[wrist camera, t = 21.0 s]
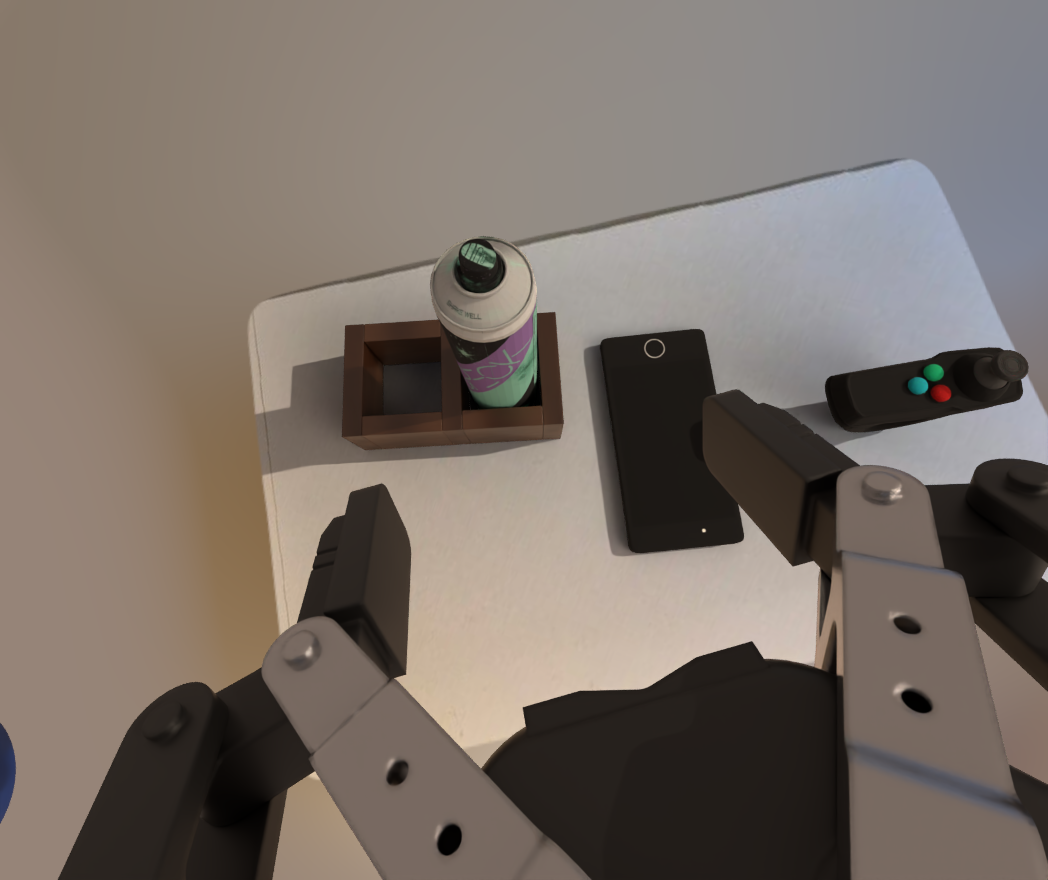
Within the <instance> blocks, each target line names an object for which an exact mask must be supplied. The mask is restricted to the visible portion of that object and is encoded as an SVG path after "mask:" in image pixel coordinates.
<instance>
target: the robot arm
mask: <svg viewBox="0 0 1048 880" xmlns="http://www.w3.org/2000/svg"><path fill="white" fill-rule="evenodd" d="M703 455H704V459H705V462H706V464H707V467H708V469H709V470H710V472H711V473H712V474H713V476H714V477H715V478H716V479H717V480H718V481H719V482H720V484H721V485H722V486H723V487H724V488H725V489H726V490H727V492H728V493H729V494H730V495H731V496H732V497H733V498H734V500H735V501H736V502H737V503H738V504H739V505H740V507H741V508H742V509H743V510H744V511H745V512H746V513H747V515H748V516H749V517H750V518H751V519H752V520H753V521H754V523H755V524H756V525H757V526H758V527H759V528H760V529H761V531H762V532H763V533H764V534H765V535H766V536H767V537H768V539H769V540H770V541H771V542H772V543H773V544H774V546H775V547H776V548H777V549H778V550H779V551H780V552H781V554H782V555H783V556H784V557H785V558H786V559H787V560H788V562H789V563H790V564H791V565H792V566H796V565H800V564H803V563H807V562H811V561H814V562H815V563H816V564H817V565H818V566H819V567H820V572H819V577H818V601H817V630H816V653H815V663H814V667H812V666H809V665H806V664H802V663H797V662H792V661H787V660H777V659H764V658H763V657H762V655H761V654H760V652H759V651H758V649H757V648H756V646H755V645H754V643H753V642H752V641H751V642H748V643H744V644H741V645H737V646H734V647H730V648H727V649H723V650H720V651H717V652H713V653H710V654H706V655H703V656H699V657H696V658H695V659H693V660H691V661H690V662H688V663H687V664H685V665H683V666H682V667H680V668H678V669H677V670H675V671H674V672H672V673H670V674H669V675H667V676H666V677H664V678H662V679H661V680H659V681H658V682H656V683H654V684H653V685H651V686H649V687H647V688H645V689H639V690H600V691H578V692H574V693H571V694H567V695H564V696H561V697H557V698H554V699H550V700H547V701H543V702H540V703H536V704H533V705H529V706H526V707H523V712H524V718H525V724H526V727H524V728H523V729H521V730H520V731H518V732H517V733H515V734H514V735H513V736H511V737H510V738H509V739H508V740H506V741H505V742H504V743H503V744H502V745H501V746H500V747H499V748H498V749H497V750H496V751H495V752H494V753H493V754H492V755H491V757H490V758H489V759H488V761H487V762H486V763H485V764H484V766H483V767H482V768H480V767H479V766H478V765H477V764H476V763H475V762H474V761H473V760H472V759H471V758H470V757H469V756H468V755H467V754H466V753H465V752H464V751H463V749H462V748H461V747H460V746H459V745H458V744H457V743H456V742H455V741H454V740H453V739H452V738H451V737H450V736H449V735H448V734H447V733H446V732H445V730H444V729H443V728H442V727H441V726H440V725H439V724H438V723H437V722H436V721H435V720H434V719H433V718H432V717H431V716H430V715H429V714H428V713H427V711H426V710H425V709H424V708H423V707H422V706H421V705H420V704H419V703H418V702H417V701H416V700H415V699H414V698H413V697H412V696H411V695H410V694H409V693H408V691H407V690H406V689H405V688H404V687H403V686H402V685H401V684H400V683H399V682H398V681H397V680H396V679H394V678H396V677H399V676H403V675H406V664H407V641H408V617H409V594H410V570H411V547H410V541H409V537H408V534H407V531H406V528H405V526H404V524H403V522H402V520H401V518H400V515H399V513H398V511H397V509H396V507H395V505H394V502H393V500H392V498H391V496H390V494H389V492H388V490H387V488H386V486H385V485H384V484H378V485H375V486H371V487H367V488H363V489H360V490H356V491H352V492H351V493H350V496H349V500H348V504H347V509H346V513H345V515H343V516H339V517H336V518H334V519H333V520H332V521H331V523H330V524H329V526H328V527H327V528H326V530H325V531H324V532H323V534H322V535H321V538H320V542H319V545H318V549H317V556H315V560H314V563H313V570H312V571H311V574H310V578H309V581H308V585H307V589H306V592H305V596H304V599H303V603H302V607H301V610H300V614H299V617H298V621H297V624H295V625H293V626H292V627H290V628H289V629H287V630H286V631H285V632H284V633H282V634H281V635H280V636H279V637H278V638H277V639H276V640H275V642H274V643H273V644H272V645H271V647H270V648H269V650H268V652H267V653H266V655H265V658H264V660H263V664H262V667H261V668H260V669H258V670H256V671H255V672H253V673H251V674H250V675H248V676H246V677H244V678H242V679H241V680H239V681H237V682H235V683H233V684H232V685H230V686H228V687H226V688H224V689H223V690H221V691H219V692H217V693H214V692H213V691H212V690H211V689H210V688H209V687H208V686H207V685H206V684H203V683H200V682H191V683H186V684H183V685H180V686H178V687H175V688H173V689H172V690H170V691H168V692H166V693H165V694H163V695H162V696H160V697H159V698H157V699H156V700H155V701H154V702H153V703H151V704H150V705H149V706H148V707H147V708H146V709H145V710H144V711H143V712H142V713H141V714H140V715H139V716H138V717H137V719H136V720H135V721H134V722H133V724H132V725H131V727H130V728H129V730H128V731H127V733H126V735H125V737H124V739H123V741H122V743H121V745H120V747H119V750H118V752H117V754H116V756H115V758H114V760H113V762H112V765H111V767H110V769H109V771H108V773H107V775H106V777H105V780H104V782H103V784H102V786H101V788H100V790H99V793H98V795H97V797H96V799H95V801H94V803H93V805H92V808H91V810H90V812H89V814H88V816H87V818H86V820H85V823H84V825H83V827H82V829H81V831H80V833H79V835H78V837H77V840H76V842H75V844H74V846H73V848H72V851H71V853H70V855H69V857H68V859H67V861H66V864H65V865H64V868H63V870H62V872H61V874H60V876H59V878H58V880H272V877H273V872H274V866H275V860H276V854H277V848H278V842H279V836H280V830H281V824H282V818H283V813H284V807H285V800H286V795H287V789H288V788H289V787H291V786H293V785H294V784H296V783H297V782H299V781H300V780H302V779H303V778H305V777H306V776H308V775H310V774H311V773H313V772H314V771H315V772H316V773H317V775H318V777H319V778H320V780H321V781H322V783H323V785H324V786H325V787H326V789H327V791H328V792H329V794H330V796H331V797H332V799H333V801H334V802H335V804H336V805H337V807H338V809H339V810H340V812H341V813H342V815H343V817H344V818H345V820H346V821H347V823H348V825H349V826H350V828H351V830H352V831H353V833H354V834H355V836H356V837H357V839H358V841H359V842H360V844H361V846H362V847H363V849H364V850H365V852H366V854H367V855H368V857H369V858H370V860H371V862H372V863H373V865H374V866H375V868H376V869H377V871H378V873H379V874H380V876H381V878H382V879H383V880H1048V784H1046V783H1044V782H1042V781H1040V780H1038V779H1036V778H1034V777H1032V776H1030V775H1028V774H1026V773H1025V772H1022V771H1021V770H1019V769H1017V768H1015V767H1013V766H1011V765H1009V764H1008V761H1007V756H1006V752H1005V748H1004V744H1003V740H1002V735H1001V731H1000V727H999V723H998V719H997V715H996V710H995V706H994V702H993V698H992V694H991V690H990V686H989V681H988V677H987V673H986V669H985V665H984V660H983V656H982V652H981V648H980V644H979V639H978V635H977V631H976V627H975V624H976V625H978V626H979V627H980V628H981V629H982V630H983V631H984V632H985V633H986V634H987V635H988V636H989V637H990V638H991V639H993V641H994V642H996V643H997V644H998V645H999V646H1000V647H1001V648H1002V649H1003V650H1004V651H1005V652H1006V653H1007V654H1008V655H1009V656H1010V657H1011V658H1013V659H1014V660H1015V661H1016V662H1017V663H1018V664H1019V665H1020V666H1021V667H1022V668H1023V669H1024V670H1025V671H1026V672H1027V673H1029V674H1030V675H1031V676H1032V677H1033V678H1034V679H1035V680H1036V681H1037V682H1038V683H1039V684H1040V685H1041V686H1042V687H1043V688H1044V689H1045V690H1047V691H1048V582H1046V581H1045V580H1044V579H1042V576H1043V574H1044V572H1045V570H1046V569H1047V567H1048V465H1045V464H1042V463H1038V462H1034V461H1028V460H1021V459H995V460H990V461H986V462H984V463H982V464H980V465H979V466H978V467H977V468H976V469H975V471H974V474H973V477H972V479H971V482H970V484H947V485H924V484H922V483H921V482H920V481H919V480H918V479H916V478H915V477H913V476H911V475H910V474H908V473H905V472H903V471H900V470H897V469H894V468H890V467H885V466H877V465H863V466H860V465H858V464H857V463H856V462H854V461H853V460H852V459H850V458H849V457H848V456H846V455H845V454H844V453H842V452H841V451H839V450H838V449H837V448H835V447H834V446H833V445H831V444H830V443H829V442H827V441H826V440H824V439H823V438H822V437H820V436H819V435H818V434H814V433H813V431H812V430H811V429H809V428H808V427H807V426H805V425H804V424H802V425H801V423H800V421H799V420H797V419H796V418H795V417H793V416H792V415H790V414H789V413H788V412H786V411H785V410H782V409H779V408H777V407H774V406H771V405H768V404H765V403H761V404H757V403H756V402H754V401H753V400H752V399H750V398H749V397H748V396H747V395H745V394H744V393H743V392H741V391H740V390H737V389H735V390H731V391H727V392H724V393H720V394H716V395H713V396H709V397H706V398H705V399H704V401H703Z"/></svg>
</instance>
